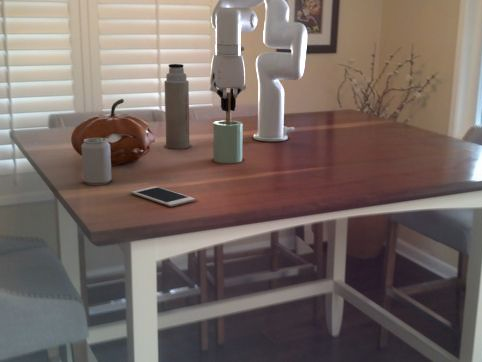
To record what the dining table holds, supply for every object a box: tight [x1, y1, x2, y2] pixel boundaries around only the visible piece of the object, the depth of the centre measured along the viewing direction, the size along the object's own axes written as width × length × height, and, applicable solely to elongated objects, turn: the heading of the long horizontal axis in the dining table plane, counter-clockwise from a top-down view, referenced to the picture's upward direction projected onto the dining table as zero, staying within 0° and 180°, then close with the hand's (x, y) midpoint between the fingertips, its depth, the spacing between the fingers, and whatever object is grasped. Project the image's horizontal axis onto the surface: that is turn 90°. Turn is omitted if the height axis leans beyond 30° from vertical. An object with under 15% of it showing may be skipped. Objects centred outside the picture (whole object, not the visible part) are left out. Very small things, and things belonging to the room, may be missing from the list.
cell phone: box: [131, 185, 195, 208], centre depth 170 cm, size 8×16×1 cm, turn 48°
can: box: [81, 138, 112, 186], centre depth 181 cm, size 8×8×12 cm
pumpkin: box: [70, 98, 156, 166], centre depth 204 cm, size 25×25×19 cm
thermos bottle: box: [164, 63, 190, 150], centre depth 226 cm, size 8×8×28 cm
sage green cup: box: [212, 119, 244, 164], centre depth 210 cm, size 9×9×12 cm
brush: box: [225, 91, 232, 125], centre depth 209 cm, size 4×4×17 cm
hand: (228, 110), depth 208 cm, fingers closed on brush
